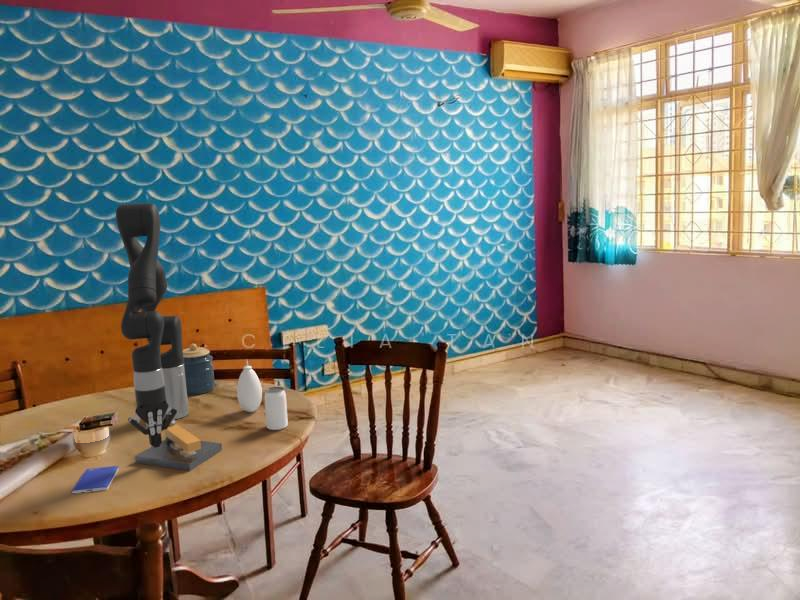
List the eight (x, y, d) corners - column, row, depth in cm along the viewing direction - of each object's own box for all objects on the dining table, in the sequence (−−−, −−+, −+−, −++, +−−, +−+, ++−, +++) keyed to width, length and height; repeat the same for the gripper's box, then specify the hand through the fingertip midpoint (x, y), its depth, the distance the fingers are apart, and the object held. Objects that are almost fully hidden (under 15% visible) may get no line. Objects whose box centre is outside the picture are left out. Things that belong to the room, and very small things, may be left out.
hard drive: (85, 468, 171) (71, 490, 159) (118, 465, 173) (106, 486, 161) (86, 474, 171) (72, 496, 159) (119, 470, 173) (107, 491, 161)
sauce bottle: (254, 416, 209) (250, 362, 206) (234, 414, 212) (229, 361, 209) (267, 408, 216) (263, 356, 213) (248, 406, 219) (243, 355, 216)
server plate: (135, 462, 176) (134, 454, 176) (170, 443, 189) (169, 435, 189) (190, 470, 170) (189, 462, 170) (222, 449, 183) (221, 442, 182)
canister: (178, 387, 243) (173, 342, 240) (213, 382, 247) (209, 338, 244) (179, 397, 231) (175, 349, 228) (217, 392, 236) (212, 345, 232)
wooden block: (162, 439, 186) (160, 421, 185) (174, 435, 189) (172, 418, 188) (188, 459, 171) (186, 440, 170) (201, 455, 174) (200, 437, 173)
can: (283, 431, 195) (280, 393, 193) (263, 430, 197) (260, 392, 195) (291, 423, 202) (288, 386, 200) (271, 422, 203) (268, 385, 201)
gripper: (128, 394, 166) (135, 457, 169) (179, 382, 174) (185, 443, 177) (119, 387, 171) (126, 449, 174) (169, 377, 180) (175, 436, 183)
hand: (156, 446), depth 176 cm, fingers closed
